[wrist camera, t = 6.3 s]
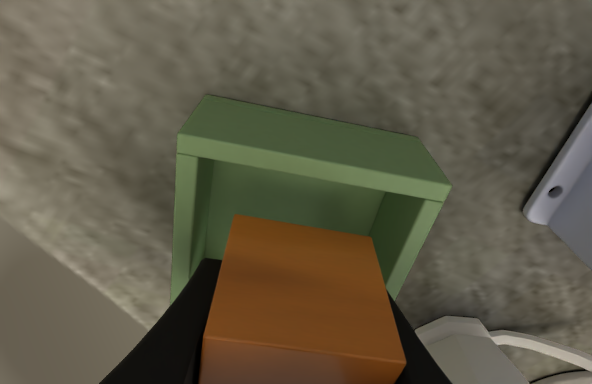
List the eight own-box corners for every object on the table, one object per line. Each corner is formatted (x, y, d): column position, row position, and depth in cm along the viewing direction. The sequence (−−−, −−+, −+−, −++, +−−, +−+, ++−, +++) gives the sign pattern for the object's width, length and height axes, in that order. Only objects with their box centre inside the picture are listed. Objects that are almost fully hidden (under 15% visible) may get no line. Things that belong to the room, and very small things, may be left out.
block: (335, 325, 13) (350, 458, 9) (220, 309, 12) (190, 441, 9) (371, 235, 11) (408, 363, 7) (234, 212, 10) (202, 337, 7)
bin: (356, 285, 17) (369, 352, 14) (192, 260, 16) (168, 325, 13) (418, 136, 13) (453, 185, 10) (205, 93, 12) (176, 132, 9)
